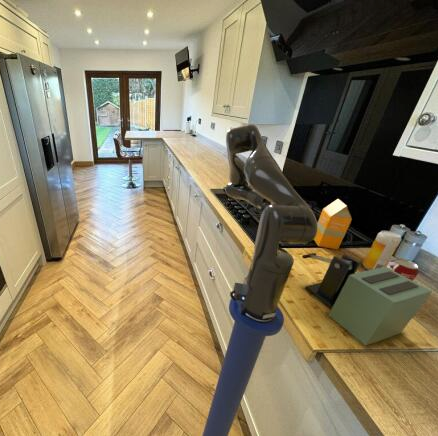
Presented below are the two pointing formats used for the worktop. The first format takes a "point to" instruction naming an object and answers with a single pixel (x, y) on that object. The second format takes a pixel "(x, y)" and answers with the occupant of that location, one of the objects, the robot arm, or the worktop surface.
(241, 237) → the worktop surface
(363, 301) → the toaster
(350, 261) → the lever
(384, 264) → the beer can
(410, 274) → the soda can
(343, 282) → the bracket
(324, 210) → the orange juice
